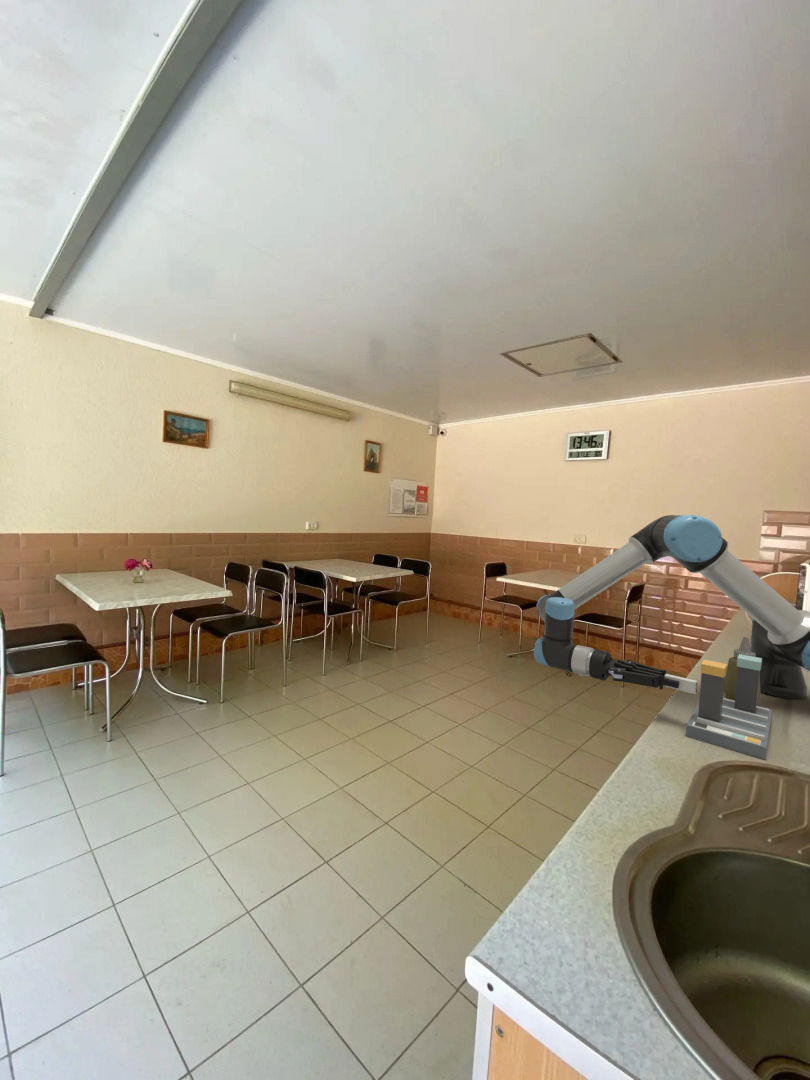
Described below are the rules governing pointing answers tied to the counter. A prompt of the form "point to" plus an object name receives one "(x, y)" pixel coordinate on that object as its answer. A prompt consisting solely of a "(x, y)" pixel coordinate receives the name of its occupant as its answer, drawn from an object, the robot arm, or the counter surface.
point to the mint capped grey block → (747, 683)
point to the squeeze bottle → (732, 670)
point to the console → (734, 729)
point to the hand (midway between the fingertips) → (696, 687)
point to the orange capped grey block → (712, 690)
